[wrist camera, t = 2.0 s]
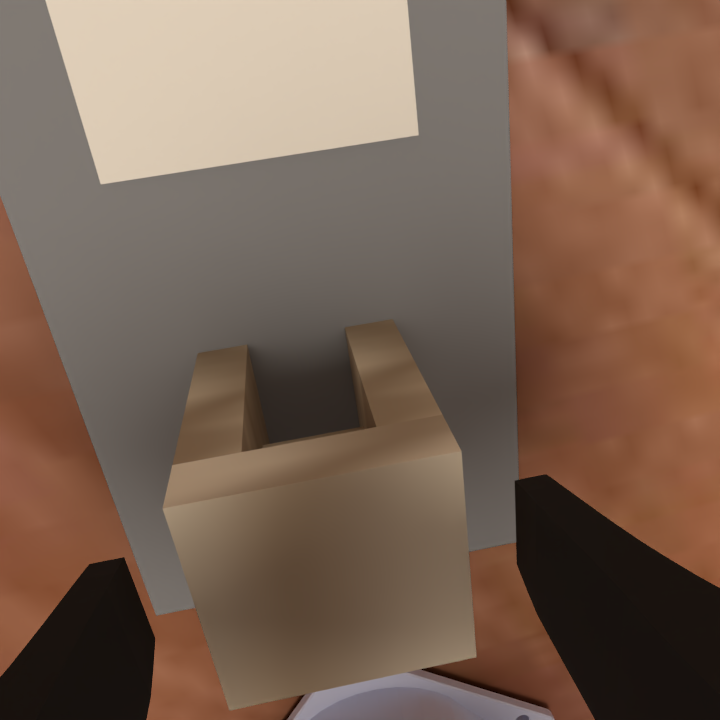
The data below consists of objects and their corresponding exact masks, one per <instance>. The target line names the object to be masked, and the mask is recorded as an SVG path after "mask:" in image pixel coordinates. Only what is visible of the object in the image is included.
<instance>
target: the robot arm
mask: <svg viewBox="0 0 720 720" xmlns="http://www.w3.org/2000/svg"><path fill="white" fill-rule="evenodd" d="M515 514H516V549H517V565H518V568H519V570H520V573H521V575H522V578H523V581H524V583H525V586H526V588H527V591H528V593H529V596H530V598H531V600H532V603H533V605H534V608H535V610H536V612H537V615H538V616H539V618H540V620H541V622H542V624H543V626H544V628H545V629H546V631H547V633H548V635H549V637H550V639H551V640H552V642H553V644H554V646H555V648H556V650H557V651H558V653H559V655H560V657H561V659H562V661H563V662H564V664H565V666H566V668H567V670H568V671H569V673H570V675H571V677H572V679H573V680H574V682H575V684H576V686H577V688H578V689H579V691H580V693H581V695H582V697H583V698H584V700H585V702H586V704H587V706H588V708H589V709H590V711H591V713H592V715H593V717H594V718H595V720H720V588H719V587H717V586H715V585H713V584H711V583H709V582H708V581H706V580H704V579H702V578H700V577H699V576H697V575H695V574H693V573H692V572H690V571H688V570H687V569H685V568H683V567H682V566H680V565H678V564H677V563H675V562H673V561H672V560H670V559H668V558H667V557H665V556H663V555H662V554H660V553H659V552H657V551H655V550H654V549H652V548H651V547H649V546H648V545H646V544H644V543H643V542H641V541H640V540H638V539H637V538H635V537H634V536H632V535H631V534H629V533H628V532H626V531H625V530H623V529H622V528H620V527H619V526H617V525H616V524H615V523H613V522H612V521H610V520H609V519H607V518H606V517H605V516H603V515H602V514H600V513H599V512H598V511H596V510H595V509H593V508H592V507H591V506H589V505H588V504H586V503H585V502H584V501H582V500H581V499H580V498H578V497H577V496H575V495H574V494H573V493H571V492H570V491H569V490H567V489H566V488H564V487H563V486H562V485H560V484H559V483H558V482H556V481H555V480H553V479H552V478H551V477H549V476H548V475H541V476H535V477H530V478H525V479H520V480H515ZM154 649H155V637H154V634H153V632H152V629H151V626H150V624H149V621H148V619H147V616H146V613H145V611H144V608H143V605H142V603H141V600H140V598H139V595H138V592H137V590H136V587H135V585H134V582H133V579H132V577H131V574H130V572H129V569H128V566H127V564H126V561H125V559H124V558H119V559H114V560H108V561H103V562H98V563H93V564H89V566H88V567H87V568H86V569H85V570H84V572H83V573H82V574H81V576H80V577H79V578H78V579H77V581H76V582H75V583H74V585H73V586H72V587H71V588H70V590H69V591H68V592H67V594H66V595H65V596H64V598H63V599H62V600H61V601H60V603H59V604H58V605H57V607H56V608H55V609H54V611H53V612H52V613H51V614H50V616H49V617H48V618H47V620H46V621H45V622H44V624H43V625H42V626H41V627H40V629H39V630H38V631H37V633H36V634H35V635H34V636H33V638H32V639H31V640H30V641H29V643H28V644H27V645H26V646H25V648H24V649H23V650H22V651H21V653H20V654H19V655H18V656H17V658H16V659H15V660H14V662H13V663H12V664H11V665H10V667H9V668H8V669H7V670H6V671H5V672H4V674H3V675H2V676H1V677H0V720H146V718H147V713H148V708H149V703H150V697H151V687H152V676H153V664H154ZM287 720H554V717H553V715H552V713H551V711H550V710H548V709H546V708H543V707H540V706H536V705H533V704H530V703H527V702H523V701H520V700H517V699H514V698H511V697H507V696H504V695H501V694H498V693H494V692H491V691H488V690H485V689H482V688H478V687H475V686H472V685H469V684H465V683H462V682H459V681H456V680H452V679H449V678H446V677H443V676H440V675H436V674H433V673H430V672H427V671H423V670H415V671H410V672H406V673H401V674H396V675H392V676H387V677H383V678H378V679H373V680H369V681H364V682H359V683H355V684H350V685H346V686H341V687H336V688H332V689H327V690H322V691H318V692H313V693H309V694H305V695H304V697H303V698H302V699H301V701H300V702H299V704H298V705H297V706H296V708H295V709H294V710H293V712H292V713H291V715H290V716H289V717H288V719H287Z"/></svg>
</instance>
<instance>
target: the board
mask: <svg viewBox="0 0 720 720" xmlns="http://www.w3.org/2000/svg"><path fill="white" fill-rule="evenodd" d="M0 196H1V199H2V201H3V204H4V207H5V209H6V212H7V215H8V218H9V220H10V223H11V226H12V228H13V231H14V234H15V236H16V239H17V242H18V245H19V247H20V250H21V253H22V255H23V258H24V261H25V263H26V266H27V269H28V271H29V274H30V277H31V280H32V282H33V285H34V288H35V290H36V293H37V296H38V298H39V301H40V304H41V306H42V309H43V312H44V315H45V317H46V320H47V323H48V325H49V328H50V331H51V333H52V336H53V339H54V341H55V344H56V347H57V350H58V352H59V355H60V358H61V360H62V363H63V366H64V368H65V371H66V374H67V376H68V379H69V382H70V385H71V387H72V390H73V393H74V395H75V398H76V401H77V403H78V406H79V409H80V411H81V414H82V417H83V420H84V422H85V425H86V428H87V430H88V433H89V436H90V438H91V441H92V444H93V446H94V449H95V452H96V455H97V457H98V460H99V463H100V465H101V468H102V471H103V473H104V476H105V479H106V481H107V484H108V487H109V490H110V492H111V495H112V498H113V500H114V503H115V506H116V508H117V511H118V514H119V516H120V519H121V522H122V525H123V527H124V530H125V533H126V535H127V538H128V541H129V543H130V546H131V549H132V551H133V554H134V557H135V560H136V562H137V565H138V568H139V570H140V573H141V576H142V578H143V581H144V584H145V586H146V589H147V592H148V595H149V597H150V600H151V603H152V605H153V608H154V611H155V613H156V616H157V615H161V614H166V613H171V612H176V611H181V610H186V609H191V608H195V605H194V602H193V599H192V596H191V593H190V590H189V587H188V584H187V581H186V578H185V575H184V572H183V569H182V566H181V563H180V560H179V557H178V554H177V551H176V548H175V545H174V542H173V539H172V536H171V533H170V530H169V527H168V524H167V521H166V518H165V515H164V512H163V504H164V500H165V495H166V491H167V486H168V482H169V478H170V473H171V469H172V464H173V460H174V456H175V451H176V447H177V442H178V438H179V434H180V429H181V425H182V420H183V416H184V412H185V407H186V403H187V398H188V394H189V390H190V385H191V381H192V376H193V372H194V367H195V363H196V359H197V354H198V353H202V352H208V351H213V350H219V349H225V348H230V347H236V346H242V345H247V346H248V350H249V354H250V359H251V363H252V368H253V372H254V376H255V381H256V385H257V390H258V394H259V398H260V403H261V407H262V412H263V416H264V420H265V425H266V429H267V434H268V438H269V442H270V444H272V443H278V442H283V441H288V440H294V439H299V438H304V437H310V436H315V435H320V434H326V433H331V432H336V431H342V430H347V429H352V428H358V427H360V425H359V418H358V412H357V405H356V399H355V392H354V385H353V379H352V372H351V366H350V359H349V353H348V346H347V340H346V333H345V327H350V326H356V325H361V324H367V323H373V322H379V321H384V320H390V319H393V321H394V323H395V325H396V327H397V329H398V330H399V332H400V334H401V336H402V338H403V340H404V342H405V344H406V346H407V348H408V350H409V352H410V353H411V355H412V357H413V359H414V361H415V363H416V365H417V367H418V369H419V371H420V373H421V374H422V376H423V378H424V380H425V382H426V384H427V386H428V388H429V390H430V392H431V394H432V396H433V397H434V399H435V401H436V403H437V405H438V407H439V409H440V411H441V413H442V415H443V417H444V419H445V420H446V422H447V424H448V426H449V428H450V430H451V432H452V434H453V436H454V438H455V440H456V441H457V443H458V445H459V447H460V449H461V451H462V465H463V479H464V492H465V506H466V520H467V533H468V547H469V552H471V551H476V550H480V549H485V548H490V547H495V546H500V545H505V544H510V543H515V542H516V514H515V480H519V466H518V428H517V391H516V353H515V316H514V278H513V241H512V203H511V166H510V128H509V90H508V53H507V15H506V0H0Z"/></svg>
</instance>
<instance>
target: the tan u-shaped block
mask: <svg viewBox="0 0 720 720" xmlns="http://www.w3.org/2000/svg"><path fill="white" fill-rule="evenodd" d="M345 333H346V340H347V346H348V353H349V359H350V366H351V372H352V379H353V385H354V392H355V399H356V405H357V412H358V418H359V425H360V427H358V428H352V429H347V430H342V431H336V432H331V433H326V434H320V435H315V436H310V437H304V438H299V439H294V440H288V441H283V442H278V443H272V444H270V442H269V438H268V434H267V429H266V425H265V420H264V416H263V412H262V407H261V403H260V398H259V394H258V390H257V385H256V381H255V376H254V372H253V368H252V363H251V359H250V354H249V350H248V346H247V345H242V346H236V347H230V348H225V349H219V350H213V351H208V352H202V353H198V354H197V359H196V363H195V367H194V372H193V376H192V381H191V385H190V390H189V394H188V398H187V403H186V407H185V412H184V416H183V420H182V425H181V429H180V434H179V438H178V442H177V447H176V451H175V456H174V460H173V464H172V469H171V473H170V478H169V482H168V486H167V491H166V495H165V500H164V504H163V512H164V515H165V518H166V521H167V524H168V527H169V530H170V533H171V536H172V539H173V542H174V545H175V548H176V551H177V554H178V557H179V560H180V563H181V566H182V569H183V572H184V575H185V578H186V581H187V584H188V587H189V590H190V593H191V596H192V599H193V602H194V605H195V608H196V611H197V614H198V617H199V620H200V623H201V626H202V629H203V632H204V635H205V638H206V641H207V644H208V647H209V650H210V653H211V656H212V659H213V662H214V665H215V668H216V671H217V674H218V677H219V680H220V683H221V686H222V689H223V692H224V695H225V698H226V701H227V704H228V707H229V710H235V709H239V708H244V707H248V706H253V705H258V704H262V703H267V702H272V701H276V700H281V699H285V698H290V697H295V696H299V695H304V694H309V693H313V692H318V691H322V690H327V689H332V688H336V687H341V686H346V685H350V684H355V683H359V682H364V681H369V680H373V679H378V678H383V677H387V676H392V675H396V674H401V673H406V672H410V671H415V670H420V669H424V668H429V667H433V666H438V665H443V664H447V663H452V662H457V661H461V660H466V659H470V658H475V657H476V643H475V630H474V616H473V602H472V588H471V575H470V561H469V547H468V533H467V520H466V506H465V492H464V479H463V465H462V451H461V449H460V447H459V445H458V443H457V441H456V440H455V438H454V436H453V434H452V432H451V430H450V428H449V426H448V424H447V422H446V420H445V419H444V417H443V415H442V413H441V411H440V409H439V407H438V405H437V403H436V401H435V399H434V397H433V396H432V394H431V392H430V390H429V388H428V386H427V384H426V382H425V380H424V378H423V376H422V374H421V373H420V371H419V369H418V367H417V365H416V363H415V361H414V359H413V357H412V355H411V353H410V352H409V350H408V348H407V346H406V344H405V342H404V340H403V338H402V336H401V334H400V332H399V330H398V329H397V327H396V325H395V323H394V321H393V319H390V320H384V321H379V322H373V323H367V324H361V325H356V326H350V327H345Z"/></svg>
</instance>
